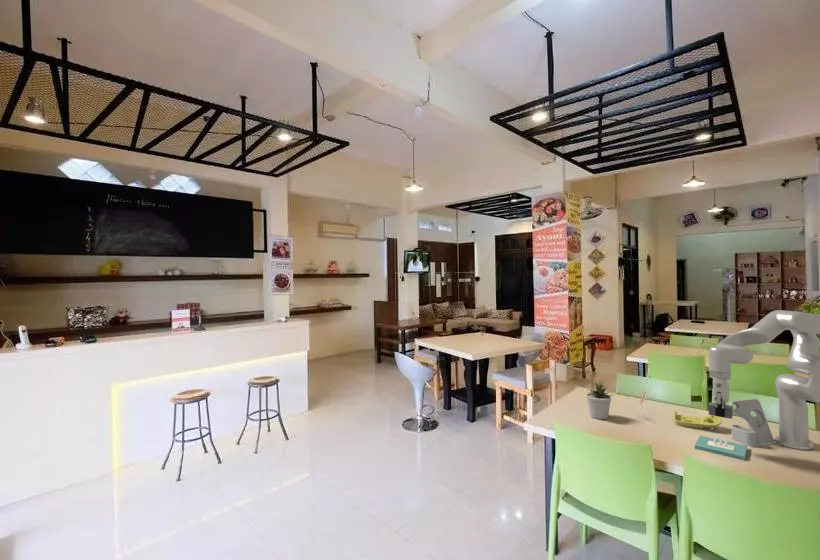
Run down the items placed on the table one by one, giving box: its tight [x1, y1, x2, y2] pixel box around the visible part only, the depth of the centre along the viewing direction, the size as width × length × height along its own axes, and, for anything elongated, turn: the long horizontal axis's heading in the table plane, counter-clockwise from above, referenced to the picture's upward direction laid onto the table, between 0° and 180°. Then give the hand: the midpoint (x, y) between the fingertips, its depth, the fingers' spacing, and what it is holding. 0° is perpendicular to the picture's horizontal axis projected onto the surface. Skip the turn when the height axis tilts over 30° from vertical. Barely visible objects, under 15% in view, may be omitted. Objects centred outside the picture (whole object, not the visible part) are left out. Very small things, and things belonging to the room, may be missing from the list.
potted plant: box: [585, 379, 614, 420], centre depth 216 cm, size 13×14×20 cm
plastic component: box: [673, 409, 723, 430], centre depth 199 cm, size 20×7×10 cm
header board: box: [694, 435, 748, 461], centre depth 174 cm, size 14×17×4 cm
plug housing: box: [708, 401, 734, 420], centre depth 173 cm, size 4×8×4 cm, turn 46°
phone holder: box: [728, 398, 779, 448], centre depth 181 cm, size 17×10×18 cm, turn 101°
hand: (720, 414), depth 173 cm, fingers closed on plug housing, 4 cm apart
